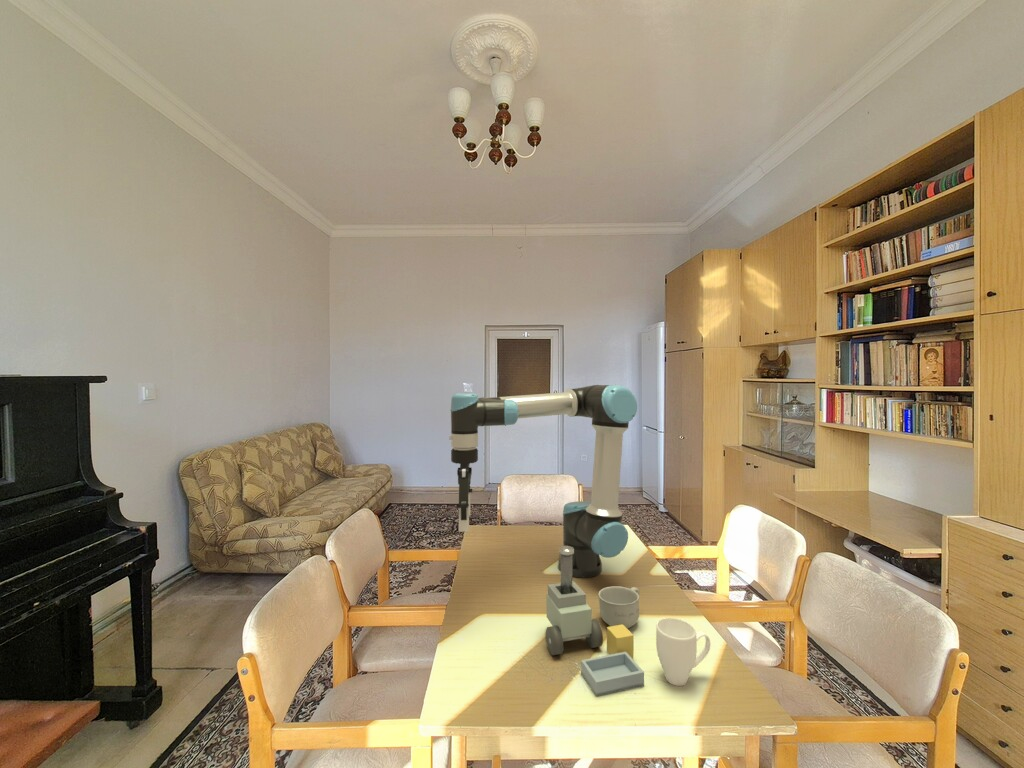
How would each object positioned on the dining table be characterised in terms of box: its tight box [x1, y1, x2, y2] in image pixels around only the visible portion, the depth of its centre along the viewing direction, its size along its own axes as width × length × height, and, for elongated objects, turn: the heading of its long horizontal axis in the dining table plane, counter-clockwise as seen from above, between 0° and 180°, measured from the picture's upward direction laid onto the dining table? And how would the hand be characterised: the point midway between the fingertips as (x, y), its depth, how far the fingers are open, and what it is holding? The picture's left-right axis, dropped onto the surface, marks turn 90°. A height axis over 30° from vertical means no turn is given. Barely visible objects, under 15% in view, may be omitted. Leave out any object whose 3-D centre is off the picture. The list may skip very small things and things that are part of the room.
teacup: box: [598, 585, 640, 630], centre depth 119 cm, size 14×11×8 cm
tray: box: [580, 652, 645, 698], centre depth 95 cm, size 11×7×3 cm, turn 106°
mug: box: [655, 617, 711, 687], centre depth 96 cm, size 12×8×11 cm
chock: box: [606, 624, 635, 660], centre depth 104 cm, size 4×5×6 cm
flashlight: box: [558, 545, 574, 595], centre depth 111 cm, size 4×4×13 cm
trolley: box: [545, 580, 604, 656], centre depth 109 cm, size 13×12×12 cm
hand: (464, 522), depth 122 cm, fingers open, 13 cm apart
